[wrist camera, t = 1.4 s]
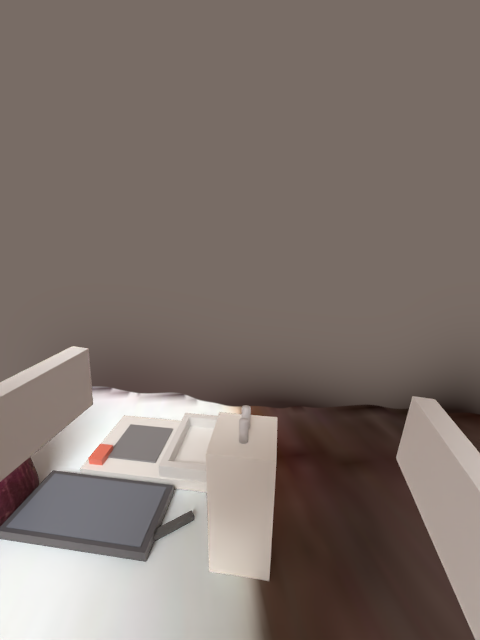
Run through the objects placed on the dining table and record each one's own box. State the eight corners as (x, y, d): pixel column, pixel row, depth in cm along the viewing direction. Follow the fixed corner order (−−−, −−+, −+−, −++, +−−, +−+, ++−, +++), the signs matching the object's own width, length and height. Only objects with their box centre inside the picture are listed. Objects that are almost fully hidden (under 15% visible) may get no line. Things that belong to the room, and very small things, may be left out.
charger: (271, 521, 29) (278, 397, 25) (269, 581, 24) (277, 439, 20) (220, 515, 30) (219, 393, 26) (209, 571, 25) (205, 432, 21)
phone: (54, 477, 34) (52, 469, 34) (173, 492, 32) (173, 484, 32) (-1, 538, 27) (-4, 529, 27) (145, 561, 26) (144, 552, 25)
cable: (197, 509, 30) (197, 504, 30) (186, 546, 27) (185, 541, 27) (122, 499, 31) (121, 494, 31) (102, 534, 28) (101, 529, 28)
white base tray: (263, 436, 41) (263, 419, 40) (257, 499, 32) (258, 478, 31) (125, 422, 44) (123, 406, 43) (81, 477, 34) (78, 457, 33)
